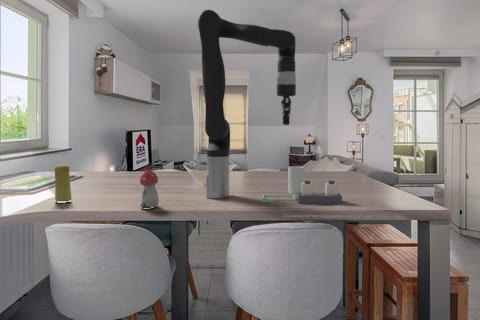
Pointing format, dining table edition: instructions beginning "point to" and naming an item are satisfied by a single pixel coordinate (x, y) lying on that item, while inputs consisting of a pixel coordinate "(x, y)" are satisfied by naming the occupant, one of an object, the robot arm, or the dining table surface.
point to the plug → (307, 188)
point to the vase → (62, 183)
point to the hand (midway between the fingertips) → (286, 124)
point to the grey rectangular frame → (319, 199)
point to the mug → (295, 178)
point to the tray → (274, 198)
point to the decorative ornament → (149, 189)
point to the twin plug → (331, 188)
